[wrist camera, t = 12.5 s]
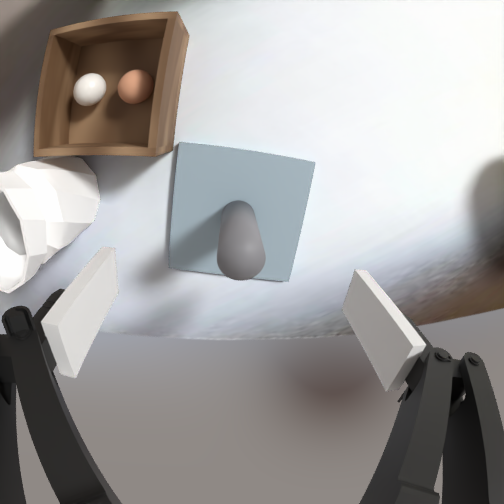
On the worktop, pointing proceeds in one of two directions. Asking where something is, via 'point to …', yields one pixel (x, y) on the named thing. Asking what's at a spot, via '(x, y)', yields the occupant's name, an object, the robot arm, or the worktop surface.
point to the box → (111, 86)
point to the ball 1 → (89, 89)
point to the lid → (237, 211)
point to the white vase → (42, 213)
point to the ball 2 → (135, 86)
